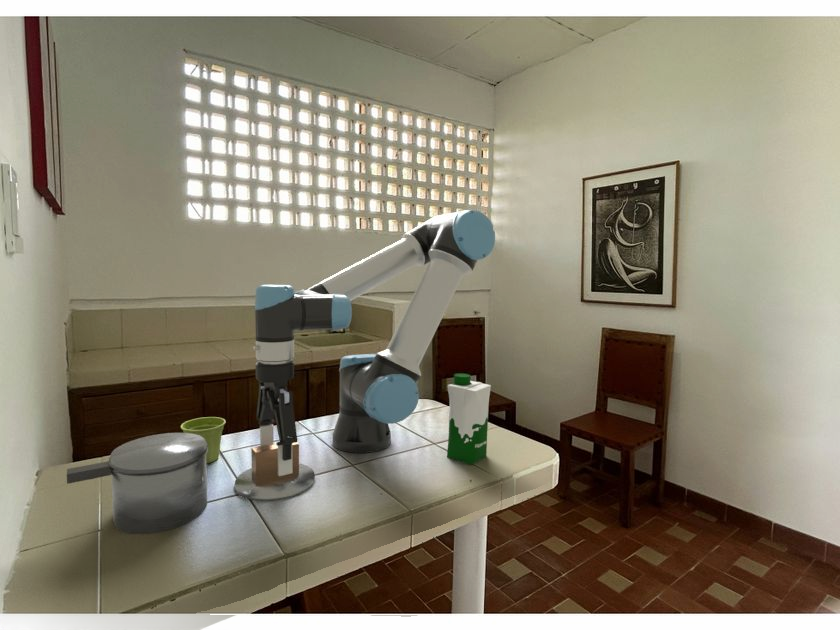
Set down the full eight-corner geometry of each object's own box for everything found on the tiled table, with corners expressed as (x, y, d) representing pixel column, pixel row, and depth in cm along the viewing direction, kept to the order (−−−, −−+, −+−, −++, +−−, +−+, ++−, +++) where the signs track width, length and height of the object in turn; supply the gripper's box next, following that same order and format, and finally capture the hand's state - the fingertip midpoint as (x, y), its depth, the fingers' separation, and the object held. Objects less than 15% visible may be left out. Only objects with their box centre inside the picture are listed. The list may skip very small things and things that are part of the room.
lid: (298, 461, 108) (298, 427, 107) (327, 488, 95) (327, 450, 94) (226, 478, 99) (225, 441, 98) (247, 510, 86) (247, 468, 85)
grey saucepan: (200, 483, 95) (198, 427, 94) (217, 517, 83) (216, 452, 82) (71, 513, 83) (67, 448, 82) (69, 558, 70) (64, 483, 69)
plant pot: (172, 462, 105) (171, 425, 104) (208, 448, 113) (207, 414, 113) (199, 471, 101) (198, 433, 100) (235, 456, 109) (234, 421, 108)
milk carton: (460, 446, 119) (463, 370, 117) (492, 456, 113) (495, 376, 111) (441, 457, 112) (444, 376, 110) (473, 467, 106) (477, 383, 104)
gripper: (240, 352, 101) (241, 449, 104) (275, 373, 83) (276, 490, 85) (274, 349, 106) (275, 442, 108) (315, 369, 87) (314, 480, 89)
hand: (275, 463), depth 97 cm, fingers open, 11 cm apart
